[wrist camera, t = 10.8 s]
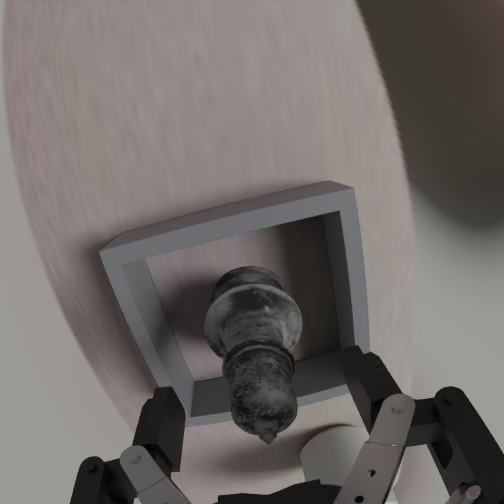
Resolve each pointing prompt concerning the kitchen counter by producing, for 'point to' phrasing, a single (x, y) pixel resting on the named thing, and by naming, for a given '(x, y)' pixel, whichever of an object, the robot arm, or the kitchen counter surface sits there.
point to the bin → (229, 224)
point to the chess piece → (256, 348)
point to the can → (334, 455)
